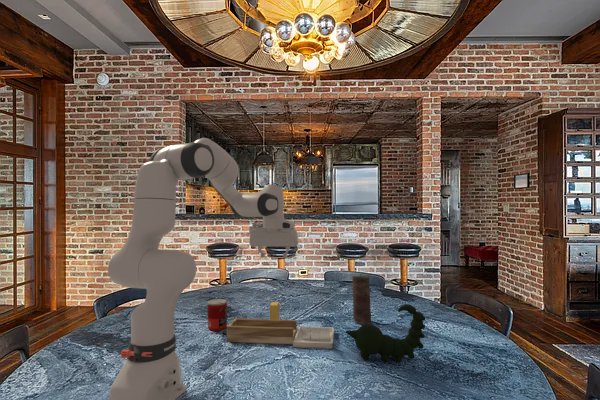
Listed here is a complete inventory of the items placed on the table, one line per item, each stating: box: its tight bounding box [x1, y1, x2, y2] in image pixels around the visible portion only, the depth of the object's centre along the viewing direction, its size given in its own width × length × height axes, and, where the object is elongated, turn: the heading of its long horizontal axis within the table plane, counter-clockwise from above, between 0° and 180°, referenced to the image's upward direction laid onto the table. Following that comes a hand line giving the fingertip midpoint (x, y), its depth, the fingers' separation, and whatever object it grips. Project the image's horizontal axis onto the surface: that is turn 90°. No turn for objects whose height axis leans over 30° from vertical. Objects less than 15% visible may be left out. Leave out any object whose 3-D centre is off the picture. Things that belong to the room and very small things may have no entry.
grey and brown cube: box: [320, 328, 330, 341], centre depth 131 cm, size 4×4×4 cm
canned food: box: [206, 298, 228, 332], centre depth 146 cm, size 8×8×11 cm
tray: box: [292, 325, 335, 350], centre depth 132 cm, size 16×14×2 cm
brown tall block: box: [351, 275, 372, 326], centre depth 151 cm, size 8×7×20 cm
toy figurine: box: [345, 304, 426, 364], centre depth 115 cm, size 9×19×25 cm
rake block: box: [269, 301, 280, 319], centre depth 145 cm, size 5×3×10 cm, turn 173°
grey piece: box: [311, 328, 321, 341], centre depth 132 cm, size 4×4×4 cm
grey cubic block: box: [301, 326, 312, 340], centre depth 133 cm, size 4×4×4 cm
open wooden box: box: [226, 317, 298, 345], centre depth 135 cm, size 10×25×6 cm, turn 83°
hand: (274, 257), depth 146 cm, fingers open, 8 cm apart
